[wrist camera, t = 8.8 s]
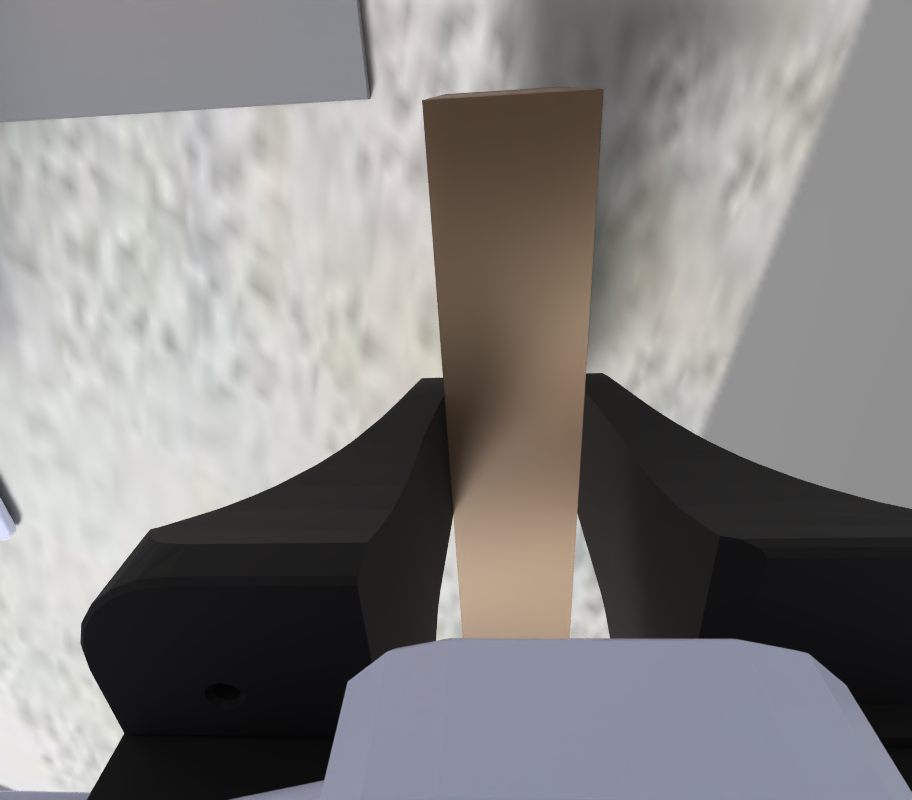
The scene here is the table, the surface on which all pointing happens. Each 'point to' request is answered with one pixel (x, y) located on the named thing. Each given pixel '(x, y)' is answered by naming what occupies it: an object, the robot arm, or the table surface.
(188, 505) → the table surface
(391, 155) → the table surface
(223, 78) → the mat
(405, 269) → the table surface
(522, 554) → the bar
